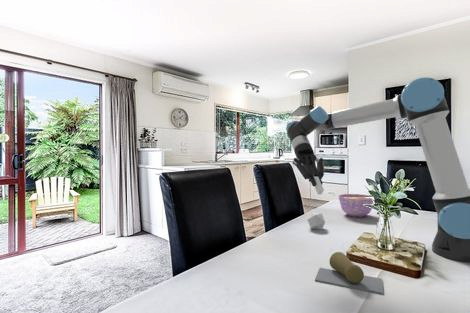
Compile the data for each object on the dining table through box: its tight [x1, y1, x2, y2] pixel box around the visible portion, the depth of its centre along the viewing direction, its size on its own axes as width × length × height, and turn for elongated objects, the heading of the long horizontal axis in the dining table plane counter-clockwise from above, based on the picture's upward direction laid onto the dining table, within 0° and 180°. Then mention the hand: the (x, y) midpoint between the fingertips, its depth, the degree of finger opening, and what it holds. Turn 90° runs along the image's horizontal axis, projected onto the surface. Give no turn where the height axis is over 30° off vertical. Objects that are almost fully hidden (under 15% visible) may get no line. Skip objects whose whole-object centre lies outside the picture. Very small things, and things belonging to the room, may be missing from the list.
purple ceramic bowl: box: [338, 193, 374, 218], centre depth 158 cm, size 20×20×12 cm
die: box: [307, 212, 326, 231], centre depth 132 cm, size 8×9×10 cm
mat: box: [314, 267, 384, 296], centre depth 78 cm, size 18×9×1 cm, turn 63°
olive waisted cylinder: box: [329, 251, 365, 284], centre depth 80 cm, size 6×6×11 cm
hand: (320, 192), depth 97 cm, fingers closed
